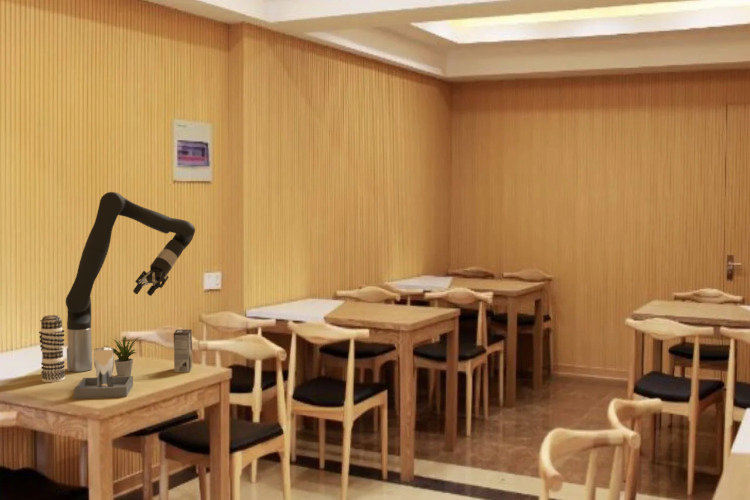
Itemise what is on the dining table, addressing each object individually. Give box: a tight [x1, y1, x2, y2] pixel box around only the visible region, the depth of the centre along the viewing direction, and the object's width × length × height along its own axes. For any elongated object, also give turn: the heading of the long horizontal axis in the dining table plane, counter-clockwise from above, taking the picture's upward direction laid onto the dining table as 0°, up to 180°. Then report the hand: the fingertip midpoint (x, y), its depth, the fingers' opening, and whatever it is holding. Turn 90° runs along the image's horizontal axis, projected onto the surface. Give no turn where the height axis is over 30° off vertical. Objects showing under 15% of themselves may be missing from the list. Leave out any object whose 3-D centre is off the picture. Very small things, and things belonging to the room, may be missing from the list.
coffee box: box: [173, 328, 193, 373], centre depth 347 cm, size 9×6×16 cm
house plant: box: [104, 335, 141, 377], centre depth 338 cm, size 14×14×16 cm
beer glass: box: [93, 346, 115, 388], centre depth 310 cm, size 7×7×15 cm
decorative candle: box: [38, 314, 66, 383], centre depth 330 cm, size 9×9×25 cm
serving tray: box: [73, 375, 134, 400], centre depth 311 cm, size 18×18×4 cm
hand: (141, 293), depth 336 cm, fingers open, 8 cm apart
